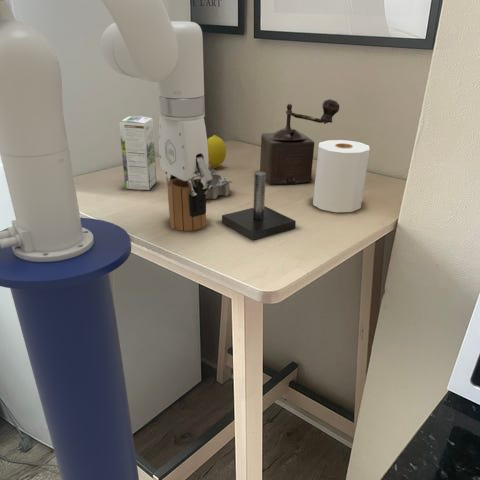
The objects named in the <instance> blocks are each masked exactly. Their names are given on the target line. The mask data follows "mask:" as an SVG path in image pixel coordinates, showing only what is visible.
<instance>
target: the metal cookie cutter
mask: <svg viewBox="0 0 480 480" xmlns="http://www.w3.org/2000/svg"><path fill="white" fill-rule="evenodd" d="M208 170H209V172H210V174H211V175H212V182H211V183H210V185H209V188H208V189H207V193H206V200H207V199H212V200H216V199H218V196H224V197H227V196H229V194H230V184H231V183H232V184H233V181H231V179H228V180H227V178H226V177H225V178H223V179H222V176H221V174H220V173H218V172H216V171H215V169H208Z"/></svg>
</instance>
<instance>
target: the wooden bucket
mask: <svg viewBox="0 0 480 480" xmlns="http://www.w3.org/2000/svg"><path fill="white" fill-rule="evenodd" d="M198 183H199V180H196V181H194V184H195V187H196V186H197V184H198ZM166 185H167V200H168V201H167V202H168V213H169V214H168V216H169V226H170V227H171V228H173V229H174V230H176V231H180V232H194V231H198V230H202V229H203V228H205V227H206V226H207V213H206V214H203V215H199V216H195V217H191V216H190V209H189V195H191V192H190V188H189V184H188V181H183V180H181V179H178V178H174V179H171V180H170V181H168V182H167V181H166Z"/></svg>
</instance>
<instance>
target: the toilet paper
mask: <svg viewBox="0 0 480 480" xmlns="http://www.w3.org/2000/svg"><path fill="white" fill-rule="evenodd" d="M370 151H371V149H370V145H368V144H365V143H363V142H360V141H354V140H347V139H327V140H324V141H321V142H318V150H317V159H316V169H315V177H314V178H315V180H314V187H313V188H314V189H313V200H312V206H314V207H316V208H318V209H319V210H321V211H326V212H330V213H331V212H332V213H337V214H338V213H352V212H356V211H358V210H360V209H361V208H362V202H363V195H364V190H365V183H366V177H367V176H366V175H367V170H368V163H369V158H370Z"/></svg>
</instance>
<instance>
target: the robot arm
mask: <svg viewBox="0 0 480 480" xmlns="http://www.w3.org/2000/svg"><path fill="white" fill-rule="evenodd" d="M100 1H101V3H102V4H103V6H105V9H106V11H108V13H109V14H110V16H111V18H112V19H113V21H114V22H112V23H110V25H109V26H108V27H106V28H105V30H104V31H103V34H102V36H101V40H100V50H101V54H102V57H103V59H104V61H105V63H106V64H107V65H108V66H109V67H110V68H111V69H112V70H113V71H114V72H116V73H118V74H121V75H124V76H126V77H130V78H135V79H140V80H142V81H146V82H153V83H157V90H158V104H159V105H158V106H159V119H158V121H159V122H158V123H159V124H158V153H159V167H160V168H161V170H162V171H164V172H165V175H166V177H165V180H166V183H167V182H168V181H170V180H171V179H174V178H178V179H181V180H183V181H188V184H189V188H190V192H191V195H189V209H190V216H191V217H195V216H199V215H203V214H206V215H207V199H206V193H207V189H208V188H209V185H210V183H211V182H212V175H211V174H210V172H209V170H210V169H209V167H210V166H209V165H210V164H209V161H208V145H207V140H208V136H207V128H206V123H205V117H206V113H205V112H206V109H205V76H204V74H205V73H204V39H203V30H202V28H201V26H200V25H199V24H198V23H197V22H194V21H187V20H186V21H184V20H171V19H170V16H169V14H168V11H167V9H166V6H165V4H164V1H163V0H100ZM62 79H63V78H62V70H61V66H60V62H59V59H58V56H57V53H56V52H55V50H54V48H53V46H52V44H51V43H50V41H49V40H48V39H47V37H45V36H44V35H43V34H42V33H41V32H40V31H39V30H38V29H36V28H35V27H33V26H32V25H30V24H27V23H26V22H25V23H24V22H22V21H20V20H19V21H18V20H17V19H16V17H15V15H14V13H13V11H12V9H11V7H10V5H9V3H8V1H7V0H0V158H1V163H2V167H3V171H4V176H5V181H6V183H7V184H6V185H7V188H8V193H9V197H10V201H11V204H12V210H13V214H14V217H15V219H14V220H11V221H10V222H11V225H12V226H9V227H6V229H7V230H6V231H2V230H0V231H1V232H0V246H1V248H7V247H11V246H12V249H13V253H14V254H15V255H16V256H17V257H19V258H21V259H23V260H26V261H32V262H56V261H62V260H66V259H70V258H74V257H76V256H79V255H81V254H83V253H85V252H86V251H88V250H89V249H90V248H91V247H92V246H93V244H94V238H93V234H92V233H91V232H90V231H89V230H87V229H85V228H83V227H82V225H81V219H80V218H81V213H80V209H79V201H78V195H77V190H76V189H77V188H76V183H75V178H74V172H73V166H72V159H71V154H70V148H69V143H68V136H67V131H66V123H65V117H64V116H65V115H64V106H63V105H64V103H63V80H62ZM194 175H195V176H194ZM196 180H199V183H198V184H197V186H196V187H195V184H194V181H196Z"/></svg>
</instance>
